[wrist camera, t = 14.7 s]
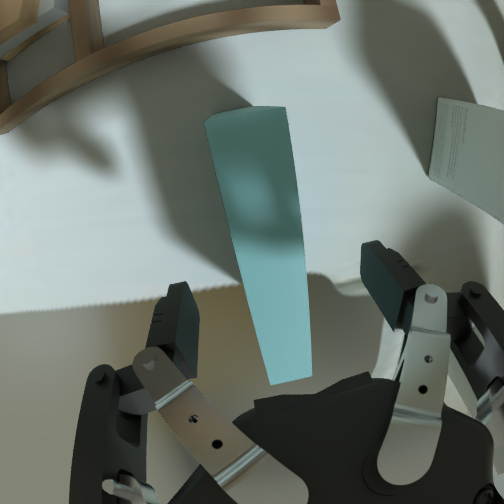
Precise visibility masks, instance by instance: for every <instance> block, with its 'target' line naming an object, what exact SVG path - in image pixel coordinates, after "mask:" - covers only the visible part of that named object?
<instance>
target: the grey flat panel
mask: <svg viewBox="0 0 504 504" xmlns="http://www.w3.org/2000/svg"><path fill="white" fill-rule="evenodd" d="M67 14H69V12H68V0H40V4H39V10H38V16H37V23H36V24H34V25H32V26H30V27H29V28H27V29H25V30H23V31H22V32H20V33H18V34H17V35H15V36H13V37H12V38H10V39H9V40H7V41H6V42H4V43H3V44H1V45H0V60H1V59H2V58H3V57H5V56H6V55H7V54H8V53H10V52H11V51H12V50H13V49H15V48H16V47H17V46H19V45H20V44H21V43H23V42H24V41H25V40H27V39H28V38H30V37H31V36H33V35H34V34H35V33H37V32H38V31H40V30H42V29H43V28H45V27H46V26H48V25H50V24H51V23H53V22H55V21H56V20H58V19H60V18H61V17H63V16H65V15H67Z"/></svg>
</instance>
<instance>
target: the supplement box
mask: <svg viewBox="0 0 504 504" xmlns="http://www.w3.org/2000/svg"><path fill="white" fill-rule="evenodd" d="M429 179H430V180H432V181H434V182H436V183H438V184H439V185H441V186H443V187H445V188H447V189H448V190H450V191H452V192H454V193H456V194H457V195H459V196H461V197H462V198H464V199H466V200H467V201H469V202H470V203H472V204H474V205H475V206H477V207H478V208H480V209H482V210H483V211H485V212H486V213H488V214H489V215H491V216H492V217H494V218H495V219H497V220H498V221H500V222H501V223H502V224H504V111H503V110H500V109H496V108H492V107H488V106H484V105H479V104H474V103H470V102H465V101H459V100H454V99H447V98H441V97H438V103H437V115H436V125H435V135H434V141H433V149H432V156H431V162H430V168H429Z"/></svg>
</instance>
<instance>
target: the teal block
mask: <svg viewBox="0 0 504 504" xmlns="http://www.w3.org/2000/svg"><path fill="white" fill-rule="evenodd" d="M204 126H205V130H206V134H207V139H208V143H209V147H210V151H211V156H212V160H213V164H214V168H215V172H216V177H217V181H218V185H219V189H220V193H221V197H222V201H223V205H224V210H225V214H226V218H227V222H228V226H229V230H230V234H231V238H232V242H233V246H234V249H235V253H236V257H237V261H238V265H239V269H240V273H241V277H242V281H243V285H244V288H245V292H246V296H247V300H248V304H249V307H250V311H251V315H252V319H253V322H254V326H255V330H256V334H257V337H258V341H259V344H260V348H261V352H262V356H263V359H264V363H265V367H266V370H267V374H268V377H269V381H270V384H271V385H274V384H279V383H284V382H288V381H292V380H297V379H301V378H305V377H309V376H312V360H311V337H310V318H309V301H308V288H307V275H306V263H305V252H304V241H303V231H302V222H301V213H300V204H299V196H298V188H297V180H296V173H295V166H294V159H293V152H292V145H291V139H290V132H289V126H288V120H287V114H286V108H285V107H274V106H251V107H246V108H240V109H235V110H230V111H225V112H221V113H216V114H213V115H211V116H210V117H209V118H208V119H207V120H206V121H204Z"/></svg>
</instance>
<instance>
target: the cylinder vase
mask: <svg viewBox="0 0 504 504" xmlns="http://www.w3.org/2000/svg"><path fill="white" fill-rule="evenodd" d="M474 332H475V333H476V335H477V336H478V338H479V339H480V341H481V342H482V344H483V346H484V347H485V341H484V338H483V337H482V335H481V334H480V332H479V331H478V329H477V328H476V327H475V329H474ZM448 375H449V377H450V378H451V380H452V382H453V383H454V385H455V387H456V389H457V390H458V392H459V394H460V396H461V398H462V399H463V401H464V403H465V405H466V407H467V409H468V411H469V413H470V414H471V416H472V418H474V419H475V416H476V414H477V411H476V407H477V403H478V400H477V398H476V396H475V394H474V392H473V390H472V388H471V386H470V384H469V382H468V380H467V378H466V376H465V374H464V372H463V370H462V369H461V367H460V365H459V363H458V361H457V359H456V358H455V356H454V354H453V352H452V351H451V349H450V355H449V365H448ZM493 464H494V467H495V469H496V472H497V474H498V475H499V474H502V473H504V443H503V444H502V445H500V446H499V447H498V448H496V449H495V450H494V456H493Z"/></svg>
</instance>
